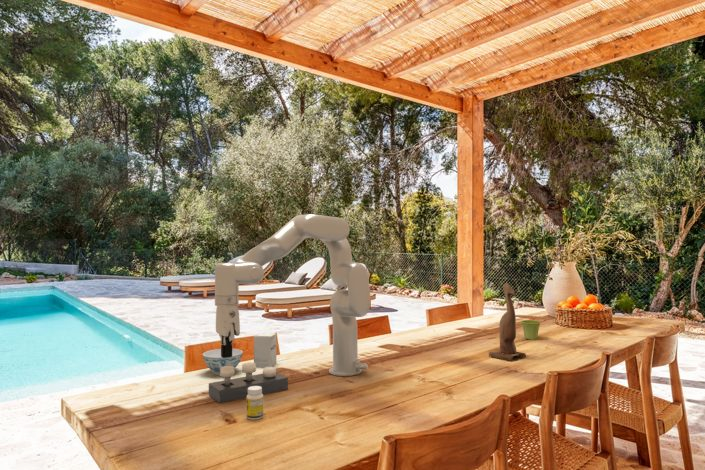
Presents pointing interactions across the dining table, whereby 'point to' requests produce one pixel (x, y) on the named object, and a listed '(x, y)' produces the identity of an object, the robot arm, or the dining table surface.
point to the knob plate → (246, 387)
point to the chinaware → (221, 359)
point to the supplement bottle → (254, 403)
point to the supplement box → (265, 349)
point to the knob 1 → (227, 374)
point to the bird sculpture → (507, 330)
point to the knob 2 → (269, 372)
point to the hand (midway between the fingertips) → (226, 356)
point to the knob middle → (248, 370)
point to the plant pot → (530, 329)
